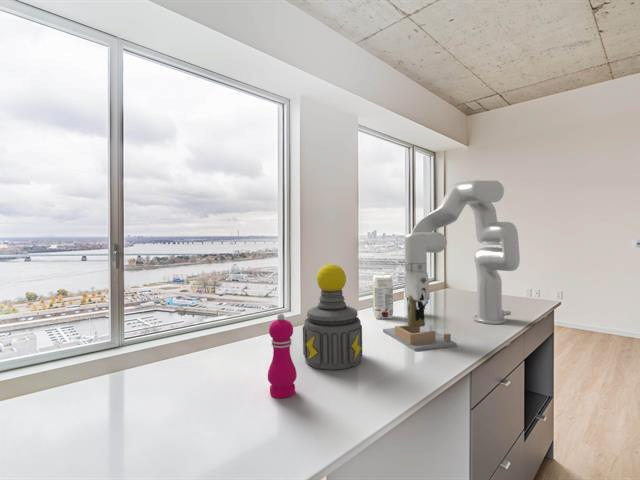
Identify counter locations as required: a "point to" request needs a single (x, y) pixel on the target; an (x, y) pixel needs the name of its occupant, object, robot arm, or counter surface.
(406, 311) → the small box
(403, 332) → the dock
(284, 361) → the pepper mill
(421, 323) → the cork
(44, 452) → the counter surface
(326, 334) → the decorative lamp
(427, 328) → the bar
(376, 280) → the juice carton
